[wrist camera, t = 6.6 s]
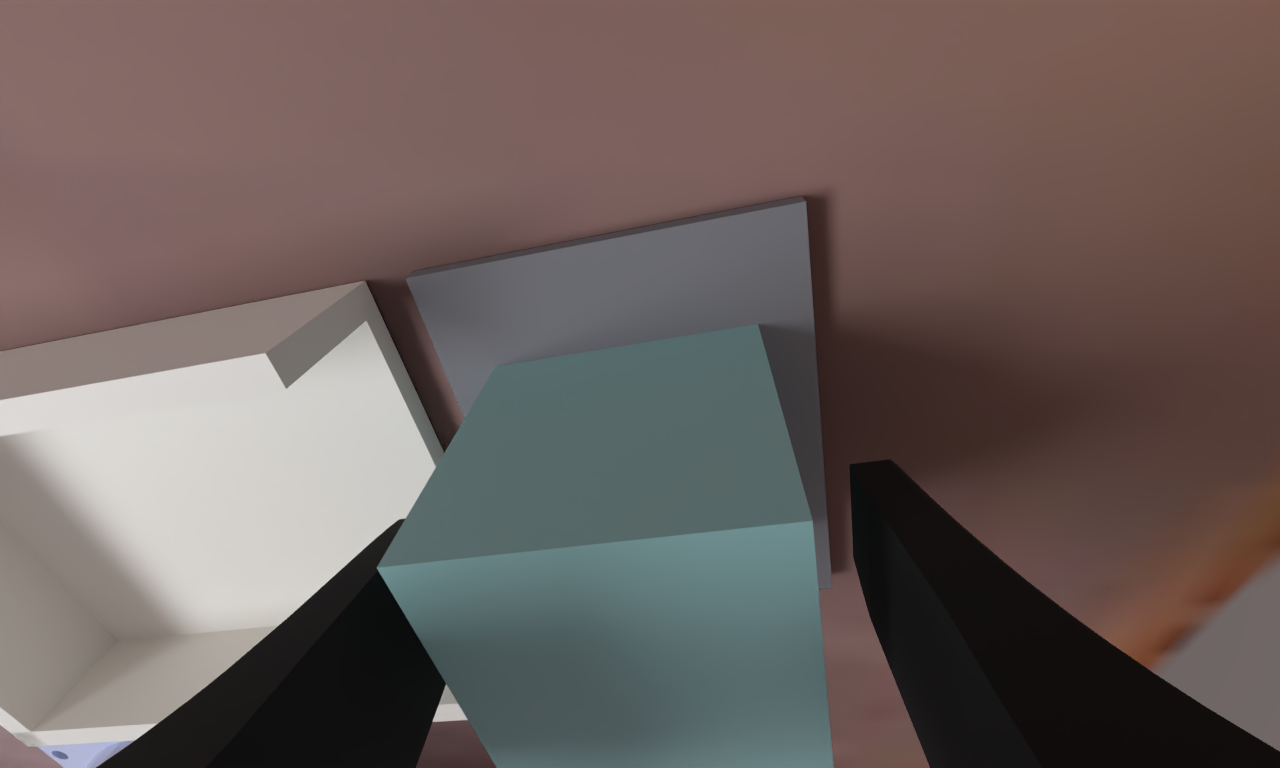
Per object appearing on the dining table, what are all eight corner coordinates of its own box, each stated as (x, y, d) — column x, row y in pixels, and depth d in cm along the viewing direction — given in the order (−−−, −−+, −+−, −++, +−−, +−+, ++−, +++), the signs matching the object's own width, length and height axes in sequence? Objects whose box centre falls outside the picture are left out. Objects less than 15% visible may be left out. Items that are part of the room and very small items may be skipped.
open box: (514, 604, 15) (479, 719, 13) (128, 640, 17) (28, 746, 14) (364, 280, 11) (265, 353, 8) (-129, 376, 13) (-338, 460, 10)
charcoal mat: (828, 575, 14) (832, 588, 14) (550, 601, 15) (546, 613, 15) (801, 196, 10) (806, 201, 9) (414, 271, 11) (405, 278, 10)
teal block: (782, 529, 13) (834, 776, 8) (564, 552, 14) (509, 789, 9) (758, 324, 10) (812, 520, 6) (495, 366, 11) (376, 568, 7)
